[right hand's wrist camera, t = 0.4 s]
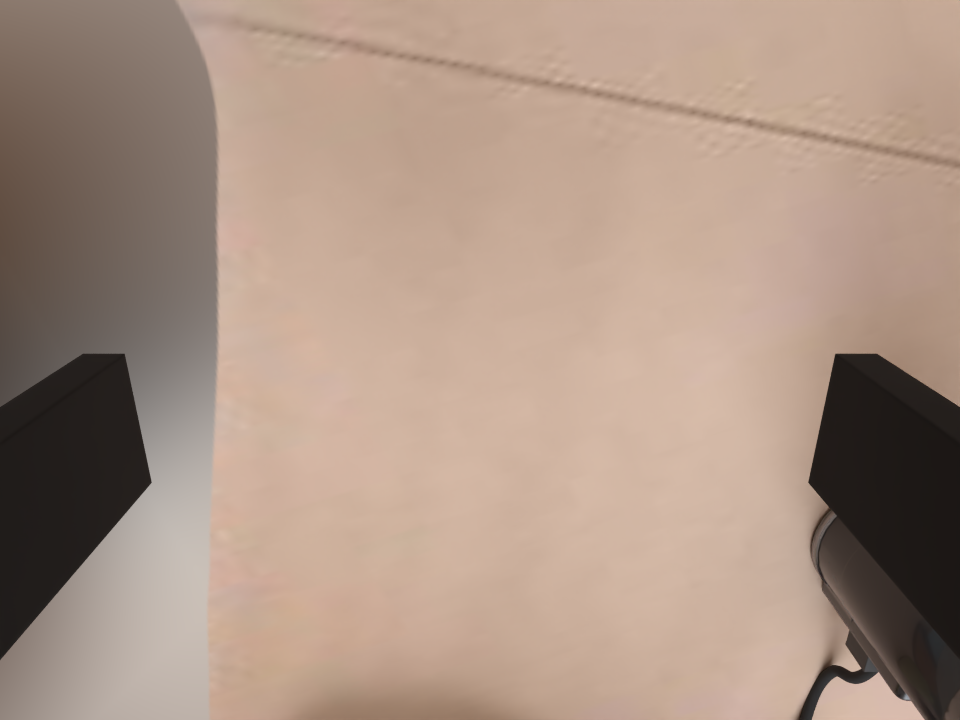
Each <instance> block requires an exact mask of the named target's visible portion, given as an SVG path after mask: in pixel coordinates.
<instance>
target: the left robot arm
mask: <svg viewBox="0 0 960 720" xmlns="http://www.w3.org/2000/svg"><path fill="white" fill-rule="evenodd" d="M811 552H812V560H813V564H814V567H815V569H816V571H817V572H818V574H819V575H820V577H821V578H822V580H823V581H824V584H823V588H822V591H823V593H824V594H825V595H826V597H827V598H828V600H829V601H830V603H831V604H832V605H833V607H834V608H835V610H836V611H837V613H838V614H839V615H840V617H841V618H842V620H843V621H844V623H845V624H846V626H847V627H848V628H849V634H848V637H847V641H846V646H847V647H848V649H849V650H850V652H851V653H852V655H853V656H854V658H855V659H856V661H857V662H858V664H859V665H860V667H861V668H862V669H860V670H858V671H855V672H850V671H849V670H847V669H845V668H843V667H841V666H837V665H832V666H830V667H828V668H827V669H825V670H824V671H823V672H822V673H821V674H820V675H819V676H818V678H817V680H816V681H815V683H814V685H813V687H812V689H811V691H810V693H809V695H808V697H807V699H806V702H805V704H804V707H803V710H802V713H801V717H800V720H812V717H813V714H814V710H815V707H816V705H817V702H818V699H819V697H820V695H821V693H822V691H823V689H824V688H825V686H826V685H827V684H828V683H829V682H830V681H831V680H832V679H833V678H834V677H836V676H838V677H840V678H841V679H843V680H845V681H846V682H849V683H853V684H859V683H863V682H865V681H867V680H869V679H870V678H872V677H873V676H874V675H876V674H877V673H878V672H879V673H880V674H881V676H882V677H883V679H884V680H885V681H886V683H887V684H888V686H889V687H890V689H891V690H892V692H893V693H894V694H895V695H896V696H897V697H898V698H900V699H902V700H906V701H912V703H913V704H914V705H915V707H916V708H917V710H918V711H919V712H920V714H921V715H922V717H923V718H924V719H925V720H960V660H959V658H958V657H957V656H956V655H955V654H954V653H953V651H952V650H951V649H950V648H949V647H948V645H947V644H946V643H945V642H944V641H943V640H942V638H941V637H940V636H939V635H938V634H937V633H936V631H935V630H934V629H933V628H932V627H931V626H930V624H929V623H928V622H927V621H926V620H925V619H924V617H923V616H922V615H921V614H920V613H919V612H918V610H917V609H916V608H915V607H914V606H913V605H912V603H911V602H910V601H909V600H908V599H907V598H906V596H905V595H904V594H903V593H902V592H901V590H900V589H899V588H898V587H897V586H896V585H895V583H894V582H893V581H892V580H891V579H890V578H889V576H888V575H887V574H886V573H885V572H884V571H883V569H882V568H881V567H880V566H879V565H878V564H877V562H876V561H875V560H874V559H873V558H872V557H871V555H870V554H869V553H868V552H867V551H866V550H865V548H864V547H863V546H862V545H861V544H860V542H859V541H858V540H857V539H856V538H855V537H854V535H853V534H852V533H851V532H850V531H849V530H848V528H847V527H846V526H845V525H844V524H843V523H842V521H841V520H840V519H839V518H838V517H837V516H836V514H835V513H834V512H833V511H832V510H830V511H829V512H828V513H827V514H826V516H825V517H824V518H823V520H822V521H821V523H820V524H819V526H818V528H817V530H816V532H815V534H814V538H813V542H812V550H811Z"/></svg>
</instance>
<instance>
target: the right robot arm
mask: <svg viewBox="0 0 960 720" xmlns="http://www.w3.org/2000/svg"><path fill="white" fill-rule="evenodd" d="M808 483H809V484H810V485H811V486H812V487H813V489H814V490H815V491H816V492H817V493H818V494H819V496H820V497H821V498H822V499H823V500H824V502H825V503H826V504H827V505H828V506H829V507H830V509H831V510H832V511H833V512H834V513H835V514H836V516H837V517H838V518H839V519H840V520H841V521H842V523H843V524H844V525H845V526H846V527H847V528H848V530H849V531H850V532H851V533H852V534H853V535H854V537H855V538H856V539H857V540H858V541H859V542H860V544H861V545H862V546H863V547H864V548H865V550H866V551H867V552H868V553H869V554H870V555H871V557H872V558H873V559H874V560H875V561H876V562H877V564H878V565H879V566H880V567H881V568H882V569H883V571H884V572H885V573H886V574H887V575H888V576H889V578H890V579H891V580H892V581H893V582H894V583H895V585H896V586H897V587H898V588H899V589H900V590H901V592H902V593H903V594H904V595H905V596H906V598H907V599H908V600H909V601H910V602H911V603H912V605H913V606H914V607H915V608H916V609H917V610H918V612H919V613H920V614H921V615H922V616H923V617H924V619H925V620H926V621H927V622H928V623H929V624H930V626H931V627H932V628H933V629H934V630H935V631H936V633H937V634H938V635H939V636H940V637H941V638H942V640H943V641H944V642H945V643H946V644H947V645H948V647H949V648H950V649H951V650H952V651H953V653H954V654H955V655H956V656H957V657H958V658H959V660H960V407H959V406H957V405H956V404H954V403H952V402H951V401H949V400H948V399H946V398H945V397H943V396H942V395H940V394H939V393H937V392H935V391H934V390H932V389H931V388H929V387H928V386H926V385H925V384H923V383H921V382H920V381H918V380H917V379H915V378H914V377H912V376H911V375H909V374H907V373H906V372H904V371H903V370H901V369H900V368H898V367H897V366H895V365H893V364H892V363H890V362H889V361H887V360H886V359H884V358H883V357H881V356H880V355H878V354H835V358H834V363H833V368H832V372H831V377H830V382H829V387H828V392H827V396H826V401H825V406H824V411H823V415H822V420H821V425H820V430H819V434H818V439H817V444H816V449H815V454H814V458H813V463H812V468H811V473H810V477H809V482H808ZM150 484H151V477H150V473H149V468H148V463H147V458H146V454H145V449H144V444H143V439H142V434H141V430H140V425H139V420H138V415H137V411H136V406H135V401H134V396H133V392H132V387H131V382H130V377H129V372H128V368H127V363H126V358H125V354H82V355H81V356H79V357H77V358H76V359H74V360H73V361H71V362H70V363H68V364H67V365H65V366H64V367H62V368H60V369H59V370H57V371H56V372H54V373H53V374H51V375H49V376H48V377H46V378H45V379H43V380H42V381H40V382H39V383H37V384H35V385H34V386H32V387H31V388H29V389H28V390H26V391H25V392H23V393H22V394H20V395H18V396H17V397H15V398H14V399H12V400H11V401H9V402H8V403H6V404H4V405H3V406H1V407H0V660H1V658H2V657H3V656H4V655H5V654H6V653H7V651H8V650H9V649H10V648H11V647H12V645H13V644H14V643H15V642H16V641H17V640H18V638H19V637H20V636H21V635H22V634H23V633H24V631H25V630H26V629H27V628H28V627H29V626H30V624H31V623H32V622H33V621H34V620H35V619H36V617H37V616H38V615H39V614H40V613H41V612H42V610H43V609H44V608H45V607H46V606H47V605H48V603H49V602H50V601H51V600H52V599H53V597H54V596H55V595H56V594H57V593H58V592H59V590H60V589H61V588H62V587H63V586H64V585H65V583H66V582H67V581H68V580H69V579H70V578H71V576H72V575H73V574H74V573H75V572H76V570H77V569H78V568H79V567H80V566H81V565H82V564H83V562H84V561H85V560H86V559H87V558H88V557H89V555H90V554H91V553H92V552H93V551H94V549H95V548H96V547H97V546H98V545H99V544H100V542H101V541H102V540H103V539H104V538H105V537H106V535H107V534H108V533H109V532H110V531H111V530H112V528H113V527H114V526H115V525H116V524H117V523H118V521H119V520H120V519H121V518H122V517H123V516H124V514H125V513H126V512H127V511H128V510H129V509H130V507H131V506H132V505H133V504H134V503H135V501H136V500H137V499H138V498H139V497H140V496H141V494H142V493H143V492H144V491H145V490H146V489H147V487H148V486H149V485H150Z"/></svg>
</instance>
